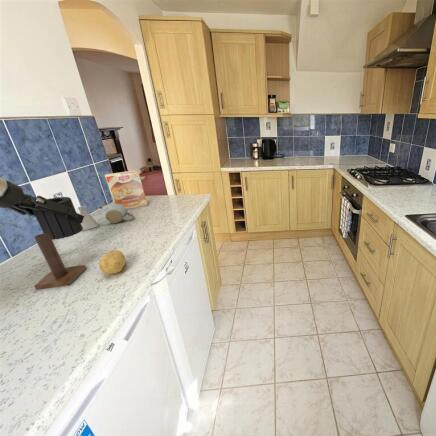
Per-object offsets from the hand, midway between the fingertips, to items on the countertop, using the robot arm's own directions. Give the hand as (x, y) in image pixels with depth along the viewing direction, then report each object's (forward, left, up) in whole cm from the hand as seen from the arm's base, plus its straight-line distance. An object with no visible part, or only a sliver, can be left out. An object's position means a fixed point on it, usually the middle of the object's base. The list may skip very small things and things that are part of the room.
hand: (68, 219), depth 88 cm
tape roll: (0, -3, -4) cm, 5 cm away
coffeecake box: (-13, +48, -13) cm, 51 cm away
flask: (-15, +21, -13) cm, 29 cm away
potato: (+23, -12, -13) cm, 29 cm away
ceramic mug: (-5, +29, -13) cm, 32 cm away
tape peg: (+9, -17, -13) cm, 23 cm away
